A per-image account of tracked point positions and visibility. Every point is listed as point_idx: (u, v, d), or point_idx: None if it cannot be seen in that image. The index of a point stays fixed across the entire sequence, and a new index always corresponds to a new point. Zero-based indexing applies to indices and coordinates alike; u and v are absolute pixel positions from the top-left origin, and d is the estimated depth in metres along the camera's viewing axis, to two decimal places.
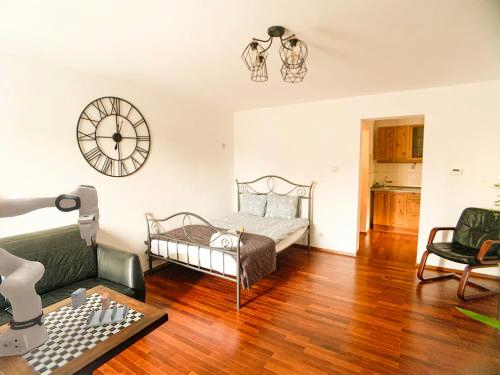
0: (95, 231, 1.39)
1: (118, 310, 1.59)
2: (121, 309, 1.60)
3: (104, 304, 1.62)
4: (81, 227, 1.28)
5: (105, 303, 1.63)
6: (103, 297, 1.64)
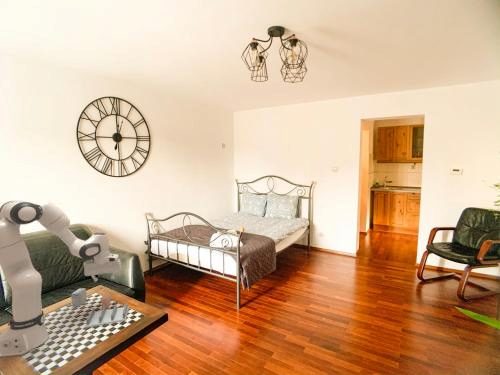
0: None
1: (118, 310, 1.59)
2: (121, 309, 1.60)
3: (104, 304, 1.62)
4: (119, 262, 1.65)
5: (105, 303, 1.63)
6: (103, 297, 1.64)
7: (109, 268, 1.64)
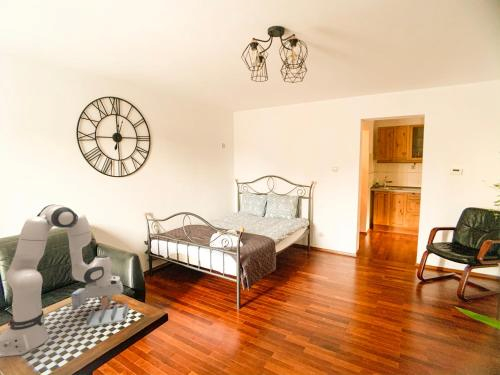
0: None
1: (118, 310, 1.59)
2: (121, 309, 1.60)
3: (104, 304, 1.62)
4: (120, 284, 1.67)
5: (105, 303, 1.63)
6: (103, 297, 1.64)
7: (110, 290, 1.65)
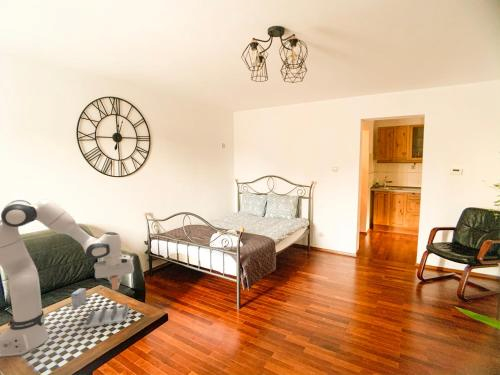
0: None
1: (118, 310, 1.59)
2: (121, 309, 1.60)
3: (114, 284, 1.52)
4: (131, 263, 1.56)
5: (115, 283, 1.52)
6: (113, 276, 1.53)
7: (120, 270, 1.54)
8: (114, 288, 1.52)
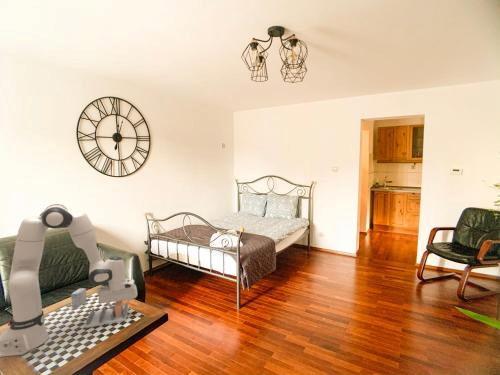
0: None
1: None
2: None
3: (118, 311, 1.52)
4: (135, 288, 1.56)
5: (119, 310, 1.52)
6: (117, 304, 1.53)
7: (124, 294, 1.54)
8: (118, 316, 1.52)
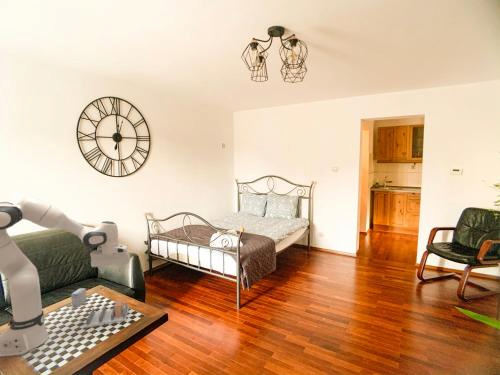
0: None
1: None
2: None
3: (118, 311, 1.52)
4: (127, 253, 1.56)
5: (119, 310, 1.52)
6: (117, 304, 1.53)
7: (116, 259, 1.54)
8: (118, 316, 1.52)
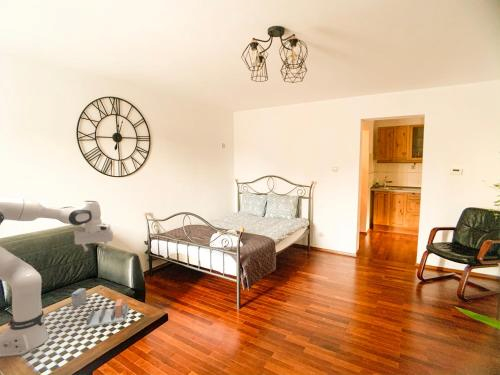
0: None
1: None
2: None
3: (118, 311, 1.52)
4: (110, 231, 1.61)
5: (119, 310, 1.52)
6: (117, 304, 1.53)
7: (100, 237, 1.60)
8: (118, 316, 1.52)
